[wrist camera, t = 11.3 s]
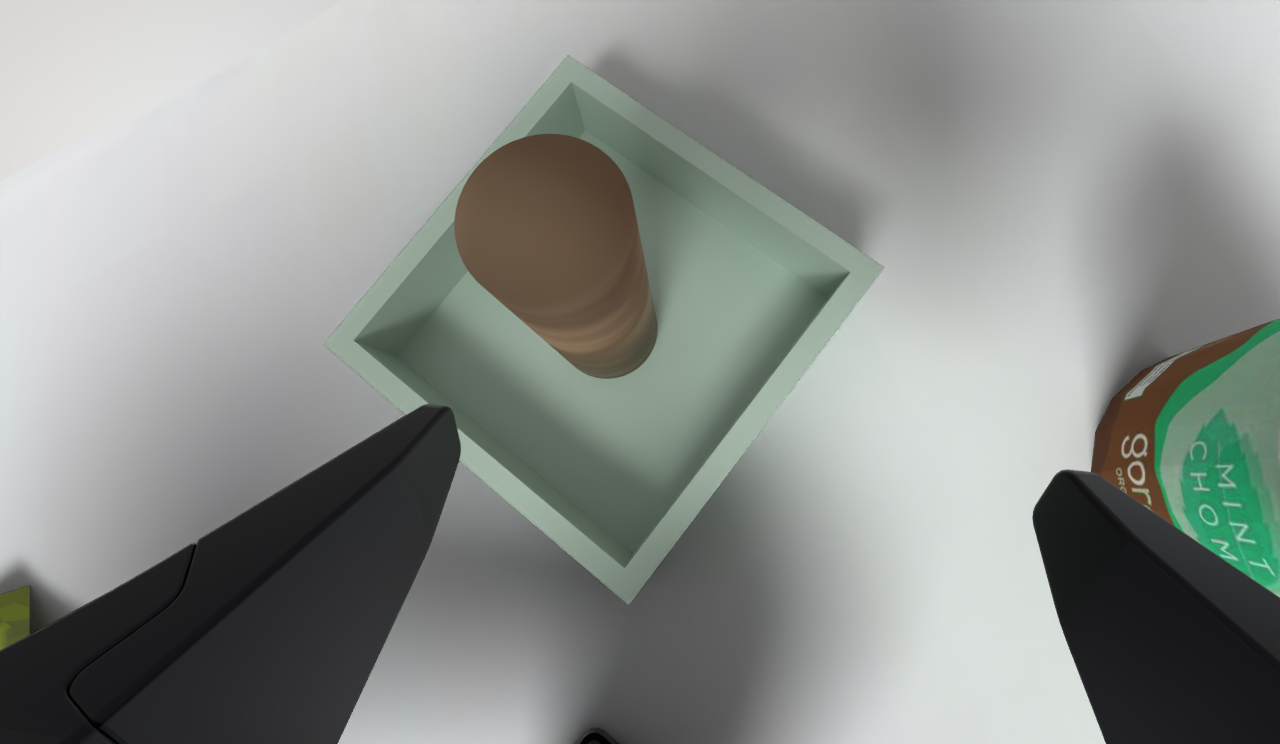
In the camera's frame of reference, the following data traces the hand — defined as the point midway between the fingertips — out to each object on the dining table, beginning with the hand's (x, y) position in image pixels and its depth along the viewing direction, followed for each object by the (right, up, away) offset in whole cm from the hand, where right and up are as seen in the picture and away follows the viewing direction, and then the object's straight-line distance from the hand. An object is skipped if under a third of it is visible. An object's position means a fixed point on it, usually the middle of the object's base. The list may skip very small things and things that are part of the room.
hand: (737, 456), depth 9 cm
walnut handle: (-3, +3, +14) cm, 15 cm away
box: (-3, +3, +14) cm, 15 cm away
